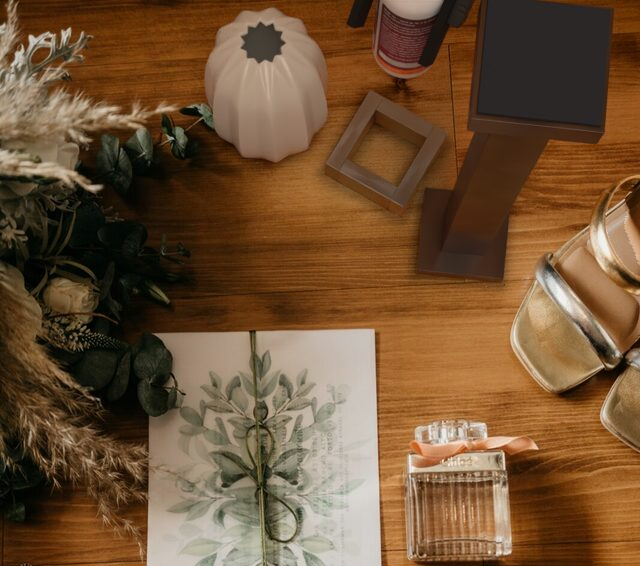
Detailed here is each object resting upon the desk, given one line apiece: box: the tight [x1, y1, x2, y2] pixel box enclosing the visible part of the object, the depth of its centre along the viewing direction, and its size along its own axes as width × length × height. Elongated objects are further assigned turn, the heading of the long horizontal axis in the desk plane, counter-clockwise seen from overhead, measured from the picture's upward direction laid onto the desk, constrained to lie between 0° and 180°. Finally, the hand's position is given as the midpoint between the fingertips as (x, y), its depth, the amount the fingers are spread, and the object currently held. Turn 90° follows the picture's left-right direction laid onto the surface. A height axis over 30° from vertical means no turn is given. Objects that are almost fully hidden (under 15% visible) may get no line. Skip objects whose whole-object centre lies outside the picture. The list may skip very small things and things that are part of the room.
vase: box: [203, 6, 329, 163], centre depth 79 cm, size 14×14×13 cm
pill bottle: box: [371, 0, 444, 79], centre depth 61 cm, size 6×6×11 cm
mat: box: [477, 0, 611, 127], centre depth 54 cm, size 9×9×1 cm
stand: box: [324, 89, 449, 218], centre depth 84 cm, size 10×10×2 cm
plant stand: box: [415, 0, 615, 284], centre depth 69 cm, size 10×10×31 cm
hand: (390, 44), depth 61 cm, fingers closed on pill bottle, 6 cm apart
